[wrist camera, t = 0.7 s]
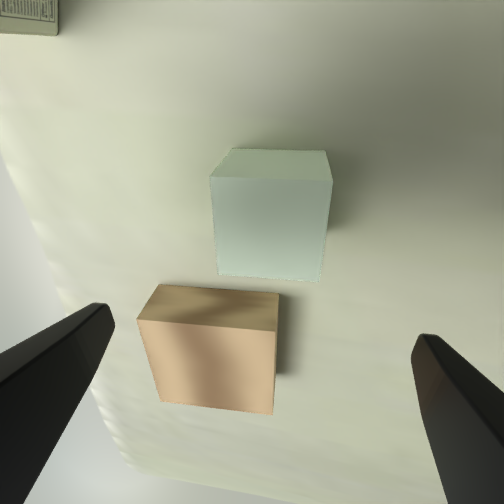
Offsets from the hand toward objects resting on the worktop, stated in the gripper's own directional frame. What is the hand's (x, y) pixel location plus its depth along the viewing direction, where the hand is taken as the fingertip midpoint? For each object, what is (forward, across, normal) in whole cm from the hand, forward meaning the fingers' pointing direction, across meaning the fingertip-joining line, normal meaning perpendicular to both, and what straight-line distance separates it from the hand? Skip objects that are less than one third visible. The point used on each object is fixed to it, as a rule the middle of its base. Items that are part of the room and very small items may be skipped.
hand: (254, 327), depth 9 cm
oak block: (+11, +4, +12) cm, 17 cm away
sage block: (+11, 0, 0) cm, 11 cm away
